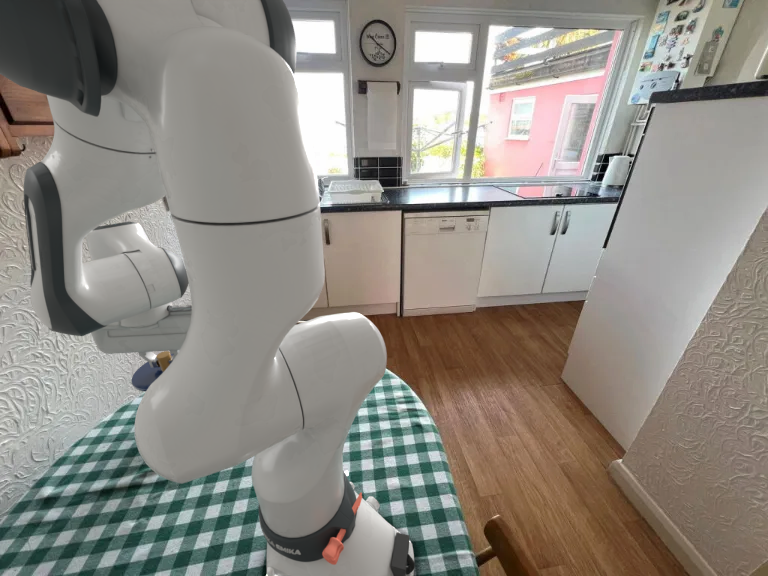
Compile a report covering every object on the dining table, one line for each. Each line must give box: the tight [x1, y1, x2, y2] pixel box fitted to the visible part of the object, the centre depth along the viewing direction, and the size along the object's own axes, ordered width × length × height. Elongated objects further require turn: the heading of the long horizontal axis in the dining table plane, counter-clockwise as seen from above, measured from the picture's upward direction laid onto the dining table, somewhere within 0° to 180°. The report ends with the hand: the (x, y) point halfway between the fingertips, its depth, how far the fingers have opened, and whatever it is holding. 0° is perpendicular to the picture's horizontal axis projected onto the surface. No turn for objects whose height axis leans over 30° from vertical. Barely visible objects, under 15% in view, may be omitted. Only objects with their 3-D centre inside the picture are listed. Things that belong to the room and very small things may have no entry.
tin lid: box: [131, 351, 174, 393], centre depth 65 cm, size 13×13×5 cm
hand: (166, 365), depth 65 cm, fingers closed on tin lid, 2 cm apart
